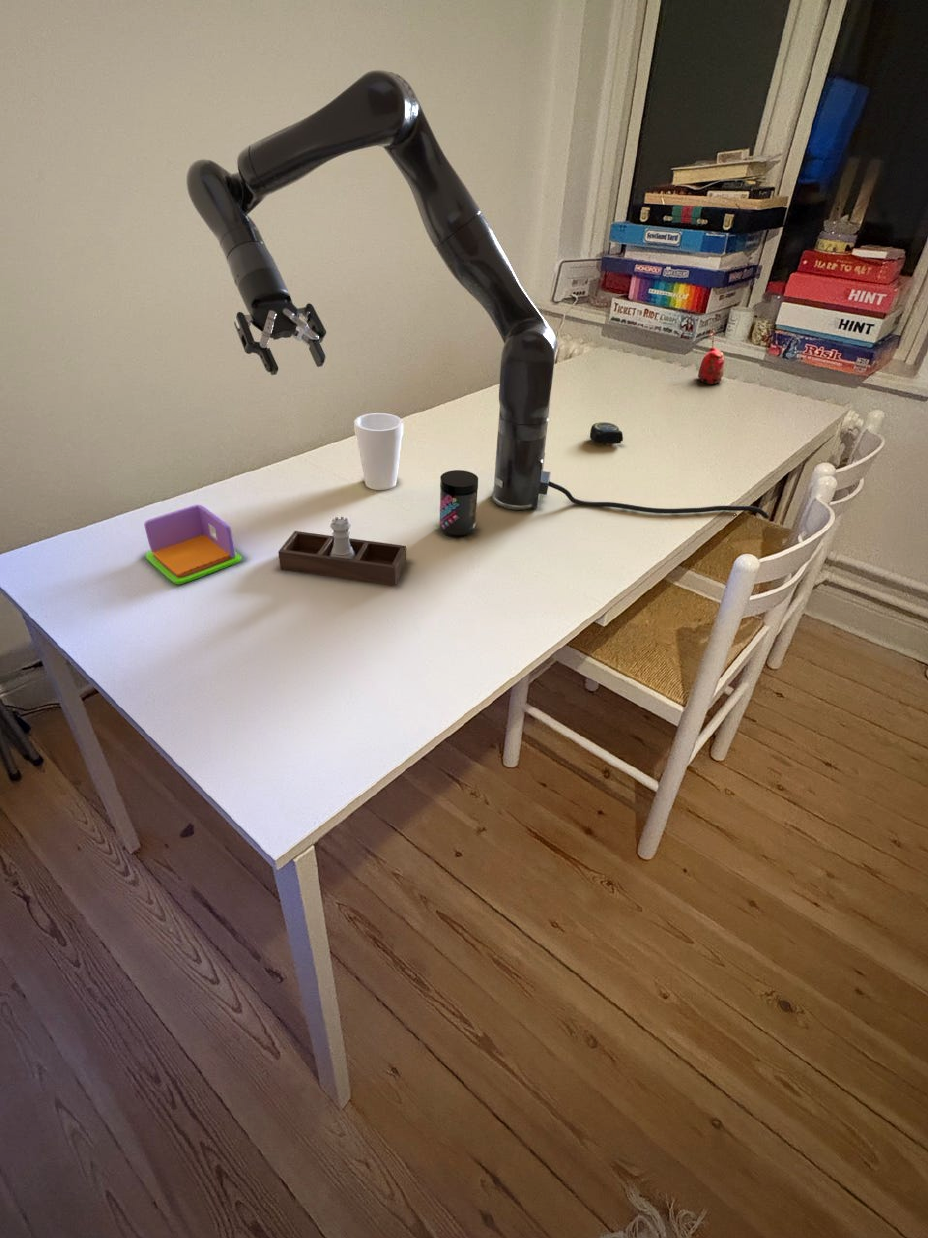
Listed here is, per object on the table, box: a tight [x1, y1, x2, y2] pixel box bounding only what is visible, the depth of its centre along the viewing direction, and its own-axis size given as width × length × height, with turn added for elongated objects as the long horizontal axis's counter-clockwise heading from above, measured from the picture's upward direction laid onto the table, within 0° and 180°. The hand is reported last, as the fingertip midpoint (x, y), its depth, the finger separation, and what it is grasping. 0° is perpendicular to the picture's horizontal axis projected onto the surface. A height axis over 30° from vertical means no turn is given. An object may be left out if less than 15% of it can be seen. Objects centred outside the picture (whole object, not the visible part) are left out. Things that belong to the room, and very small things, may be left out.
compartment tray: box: [277, 530, 407, 587], centre depth 115 cm, size 7×20×4 cm, turn 79°
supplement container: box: [438, 469, 479, 539], centre depth 125 cm, size 7×7×10 cm
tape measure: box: [589, 421, 624, 446], centre depth 164 cm, size 7×7×4 cm
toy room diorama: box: [143, 504, 242, 586], centre depth 114 cm, size 12×12×7 cm
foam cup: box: [353, 412, 404, 491], centre depth 138 cm, size 10×9×13 cm
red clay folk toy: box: [697, 326, 725, 385], centre depth 201 cm, size 8×7×15 cm
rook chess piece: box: [330, 516, 356, 559], centre depth 114 cm, size 4×4×8 cm
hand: (298, 368), depth 116 cm, fingers open, 8 cm apart
